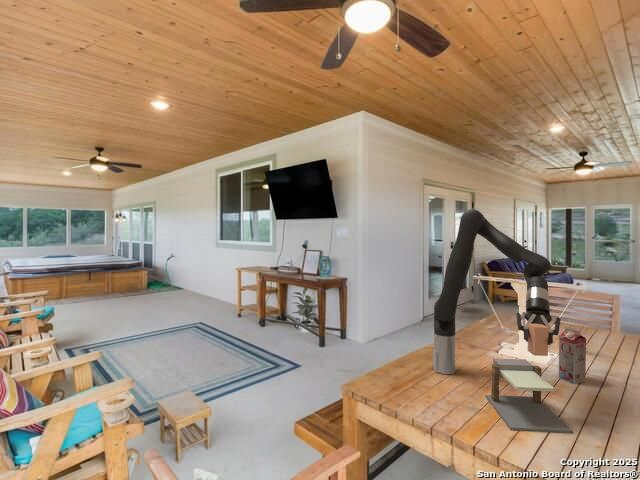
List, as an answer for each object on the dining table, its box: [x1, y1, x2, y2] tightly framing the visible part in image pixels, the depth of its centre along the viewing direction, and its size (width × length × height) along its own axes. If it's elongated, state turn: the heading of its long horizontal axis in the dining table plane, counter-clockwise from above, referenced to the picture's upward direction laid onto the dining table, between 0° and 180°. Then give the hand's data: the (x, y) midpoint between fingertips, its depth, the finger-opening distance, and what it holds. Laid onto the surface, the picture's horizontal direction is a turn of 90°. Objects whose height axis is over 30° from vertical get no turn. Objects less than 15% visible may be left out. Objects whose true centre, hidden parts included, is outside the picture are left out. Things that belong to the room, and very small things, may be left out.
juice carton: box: [558, 326, 587, 384], centre depth 148 cm, size 7×7×22 cm
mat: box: [484, 394, 574, 434], centre depth 122 cm, size 19×22×1 cm
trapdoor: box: [492, 358, 556, 392], centre depth 124 cm, size 20×12×5 cm, turn 174°
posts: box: [490, 363, 543, 404], centre depth 129 cm, size 17×2×14 cm, turn 84°
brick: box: [527, 324, 549, 357], centre depth 122 cm, size 4×4×10 cm
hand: (538, 342), depth 120 cm, fingers closed on brick, 6 cm apart
